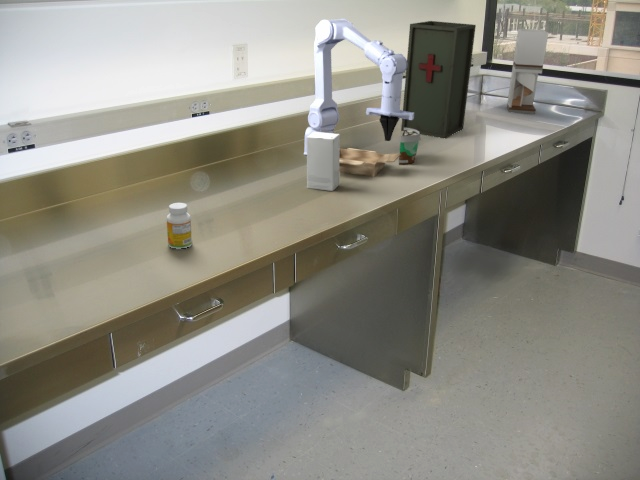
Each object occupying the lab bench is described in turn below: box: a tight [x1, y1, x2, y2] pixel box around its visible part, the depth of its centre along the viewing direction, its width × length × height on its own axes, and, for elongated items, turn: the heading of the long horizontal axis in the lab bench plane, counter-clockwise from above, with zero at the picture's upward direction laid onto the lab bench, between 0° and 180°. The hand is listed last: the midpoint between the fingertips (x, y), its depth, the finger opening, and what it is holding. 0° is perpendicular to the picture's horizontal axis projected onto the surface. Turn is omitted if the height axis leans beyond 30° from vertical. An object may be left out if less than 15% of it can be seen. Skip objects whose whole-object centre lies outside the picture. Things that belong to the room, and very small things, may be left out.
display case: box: [506, 28, 550, 115], centre depth 291 cm, size 11×11×35 cm
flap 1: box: [339, 158, 365, 166], centre depth 200 cm, size 10×1×5 cm
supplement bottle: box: [166, 202, 193, 250], centre depth 148 cm, size 5×5×10 cm
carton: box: [339, 147, 386, 178], centre depth 210 cm, size 16×15×4 cm
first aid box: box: [400, 20, 477, 139], centre depth 251 cm, size 18×18×40 cm
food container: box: [398, 128, 422, 166], centre depth 216 cm, size 12×6×10 cm, turn 168°
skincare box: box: [306, 132, 341, 192], centre depth 188 cm, size 8×7×16 cm
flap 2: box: [378, 153, 401, 164], centre depth 204 cm, size 1×9×5 cm
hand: (387, 140), depth 202 cm, fingers closed
